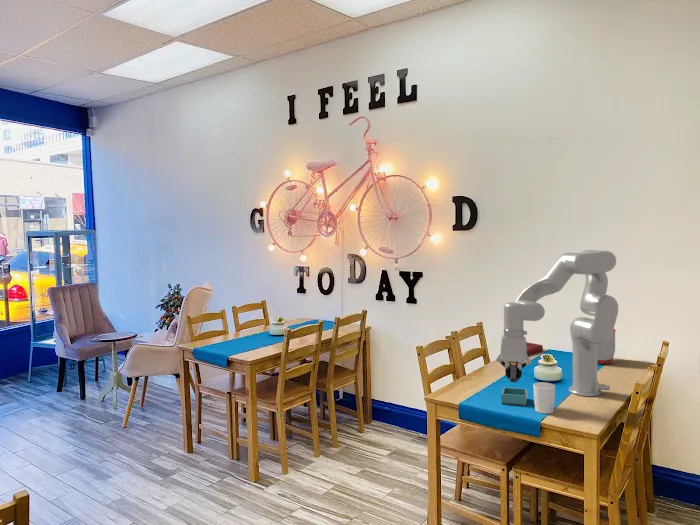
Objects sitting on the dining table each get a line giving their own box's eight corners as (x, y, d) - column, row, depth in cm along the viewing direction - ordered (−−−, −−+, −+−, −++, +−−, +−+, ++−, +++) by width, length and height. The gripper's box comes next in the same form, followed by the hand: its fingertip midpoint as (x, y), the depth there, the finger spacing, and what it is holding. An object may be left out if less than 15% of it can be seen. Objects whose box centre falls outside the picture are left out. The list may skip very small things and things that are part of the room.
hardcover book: (542, 352, 293) (542, 344, 293) (519, 358, 281) (519, 350, 280) (524, 348, 303) (524, 341, 302) (501, 354, 290) (501, 347, 290)
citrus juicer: (572, 360, 273) (572, 322, 271) (599, 356, 278) (599, 319, 276) (594, 367, 258) (594, 327, 256) (623, 363, 263) (623, 324, 261)
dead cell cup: (527, 398, 216) (527, 389, 215) (525, 406, 207) (525, 396, 207) (503, 396, 219) (503, 387, 219) (501, 403, 210) (501, 394, 210)
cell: (518, 380, 213) (518, 359, 213) (517, 382, 210) (517, 361, 209) (509, 379, 215) (509, 358, 214) (508, 381, 211) (508, 360, 211)
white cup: (550, 406, 205) (550, 381, 205) (558, 414, 197) (558, 388, 197) (530, 407, 205) (530, 382, 204) (538, 414, 197) (537, 388, 196)
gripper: (535, 332, 211) (535, 377, 213) (493, 330, 218) (493, 374, 219) (534, 336, 205) (534, 382, 206) (491, 334, 211) (491, 379, 212)
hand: (513, 377), depth 212 cm, fingers closed on cell, 3 cm apart
